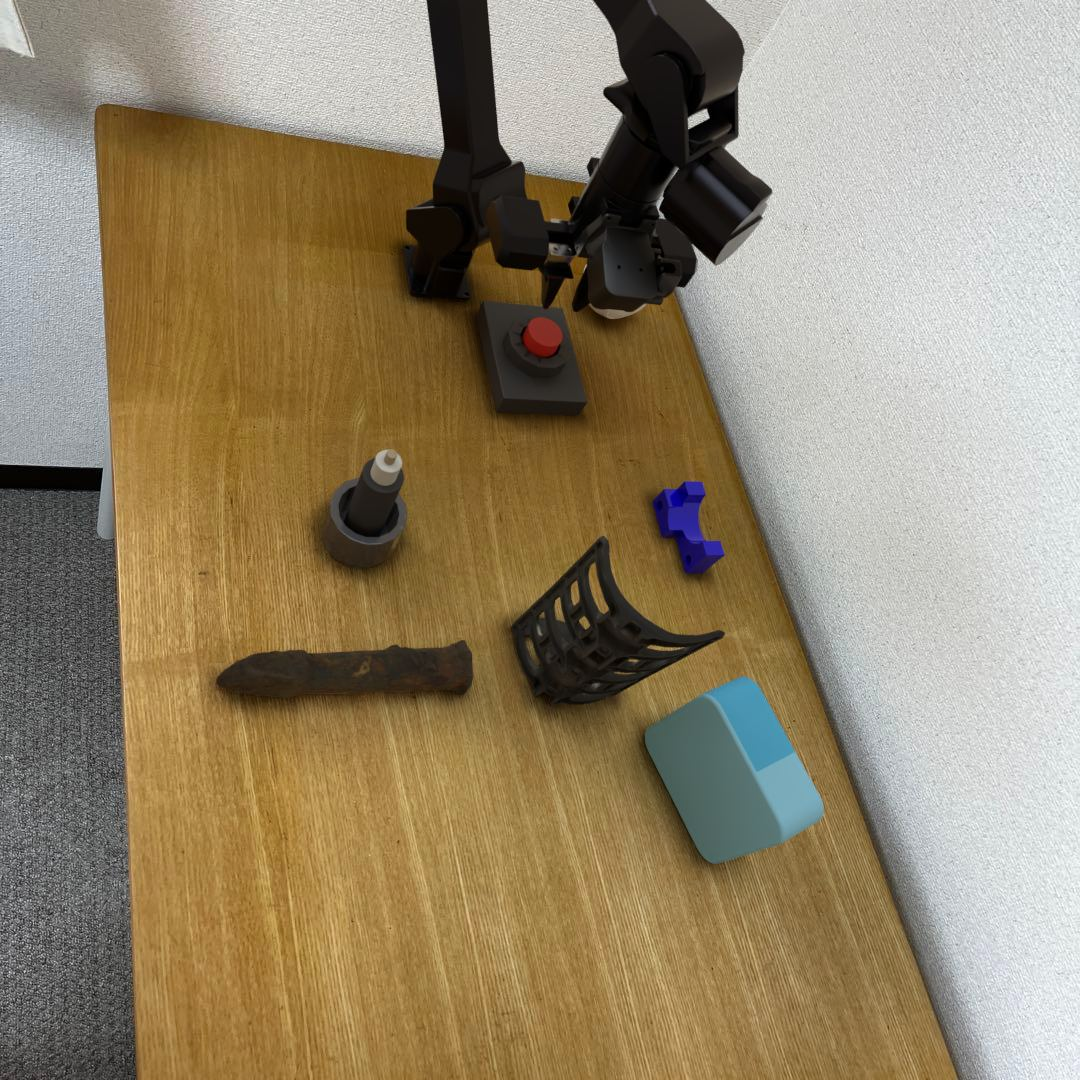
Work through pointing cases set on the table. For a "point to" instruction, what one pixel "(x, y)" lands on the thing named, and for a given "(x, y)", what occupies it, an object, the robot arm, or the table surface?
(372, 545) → the iron cup
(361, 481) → the capped grey cylinder
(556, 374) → the switch box
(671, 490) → the cable holder
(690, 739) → the data package
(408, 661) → the hand tool
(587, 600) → the holder
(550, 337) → the power button
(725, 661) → the table surface
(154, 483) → the table surface
